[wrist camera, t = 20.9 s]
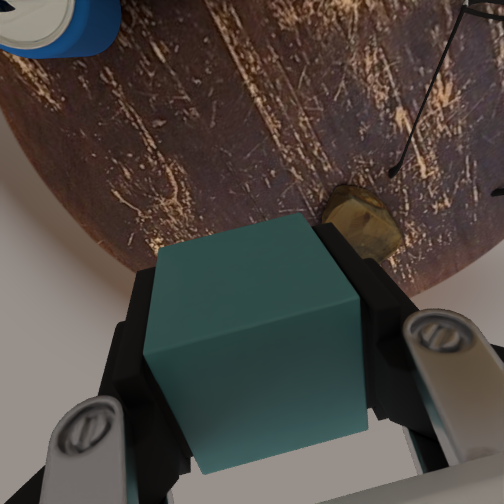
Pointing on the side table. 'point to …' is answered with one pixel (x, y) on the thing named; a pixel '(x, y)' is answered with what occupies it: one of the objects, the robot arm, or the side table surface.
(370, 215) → the decorative stone
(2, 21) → the beverage can
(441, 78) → the side table surface
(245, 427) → the block
